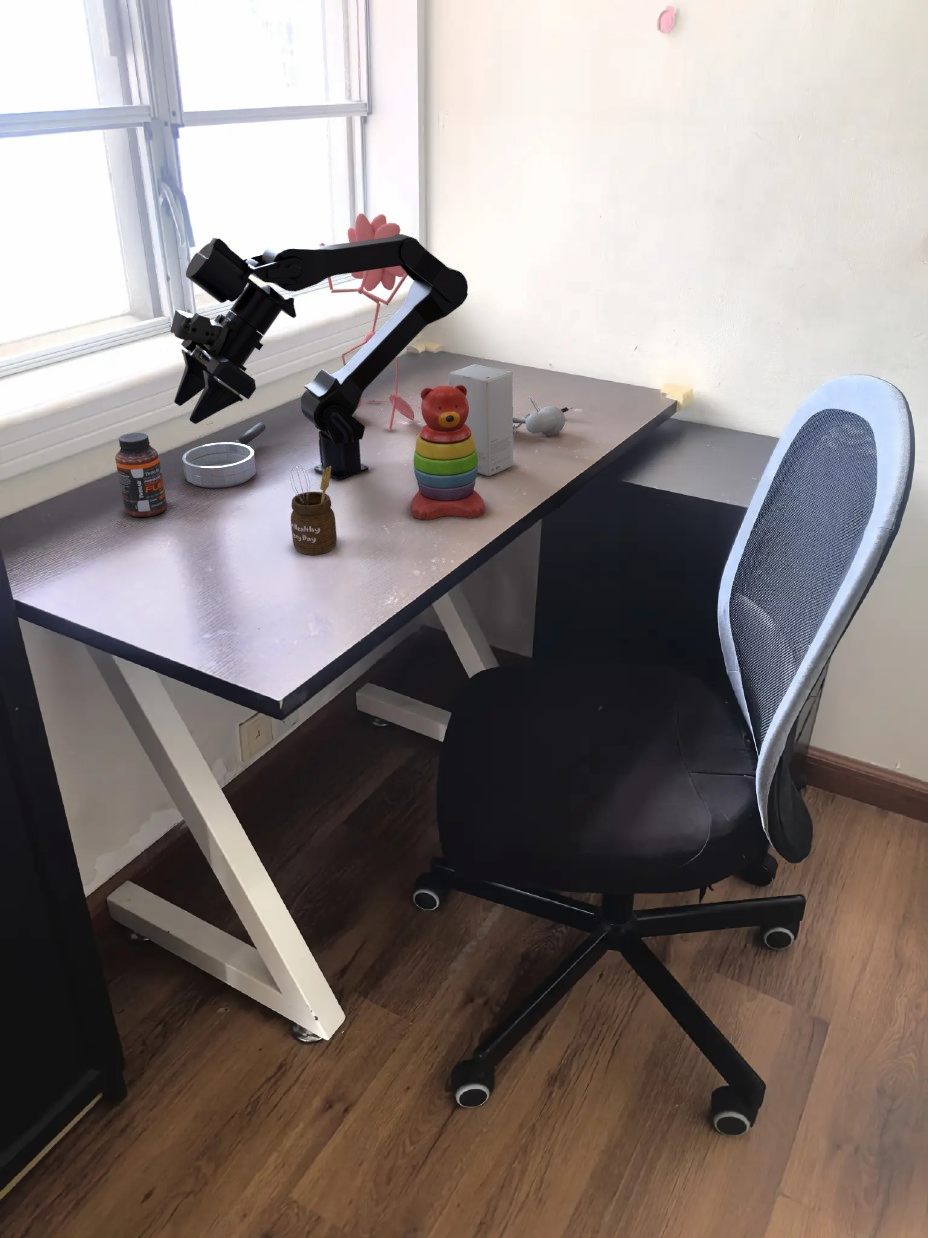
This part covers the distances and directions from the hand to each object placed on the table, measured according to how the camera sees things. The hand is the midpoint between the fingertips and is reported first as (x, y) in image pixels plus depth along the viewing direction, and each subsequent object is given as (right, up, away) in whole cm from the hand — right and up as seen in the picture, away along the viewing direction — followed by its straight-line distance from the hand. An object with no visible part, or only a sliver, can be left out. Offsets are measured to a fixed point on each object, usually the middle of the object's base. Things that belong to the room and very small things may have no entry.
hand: (184, 412), depth 133 cm
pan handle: (+4, 0, +22) cm, 23 cm away
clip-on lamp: (+53, +4, +32) cm, 62 cm away
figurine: (+26, +8, +39) cm, 48 cm away
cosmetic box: (+43, -5, +18) cm, 47 cm away
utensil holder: (+20, -20, -8) cm, 29 cm away
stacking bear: (+38, -13, +4) cm, 40 cm away
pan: (+1, -7, +14) cm, 16 cm away
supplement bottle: (-6, -14, +3) cm, 16 cm away
